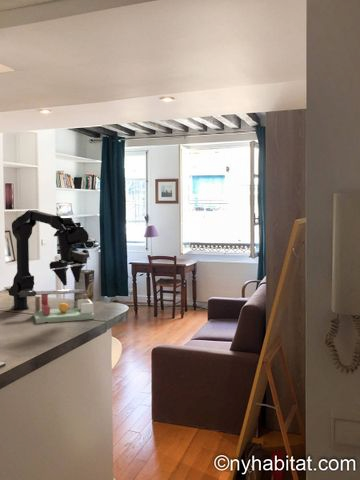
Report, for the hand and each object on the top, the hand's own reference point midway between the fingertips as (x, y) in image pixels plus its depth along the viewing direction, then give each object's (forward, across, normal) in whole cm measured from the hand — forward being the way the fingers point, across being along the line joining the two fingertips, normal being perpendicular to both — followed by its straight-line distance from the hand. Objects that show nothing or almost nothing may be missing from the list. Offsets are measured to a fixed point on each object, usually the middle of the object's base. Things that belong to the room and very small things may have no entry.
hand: (71, 283), depth 181 cm
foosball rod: (+10, +2, +12) cm, 16 cm away
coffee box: (+12, +25, +11) cm, 30 cm away
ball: (+10, +3, +7) cm, 13 cm away
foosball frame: (+14, +3, +8) cm, 16 cm away
